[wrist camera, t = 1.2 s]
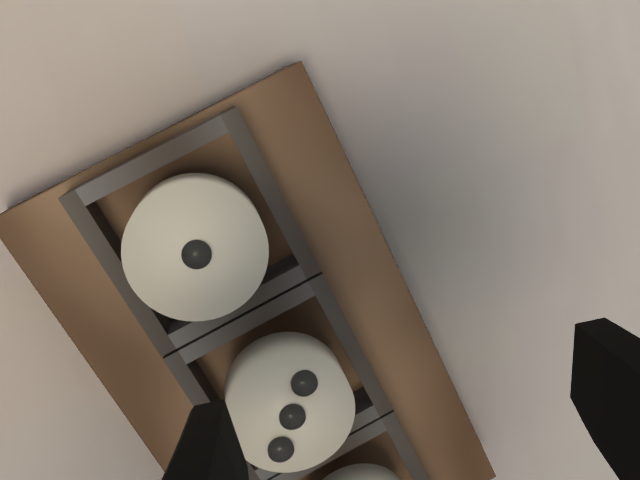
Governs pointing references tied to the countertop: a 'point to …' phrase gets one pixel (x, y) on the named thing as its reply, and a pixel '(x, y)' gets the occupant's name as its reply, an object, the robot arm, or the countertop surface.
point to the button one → (195, 247)
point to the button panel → (268, 300)
